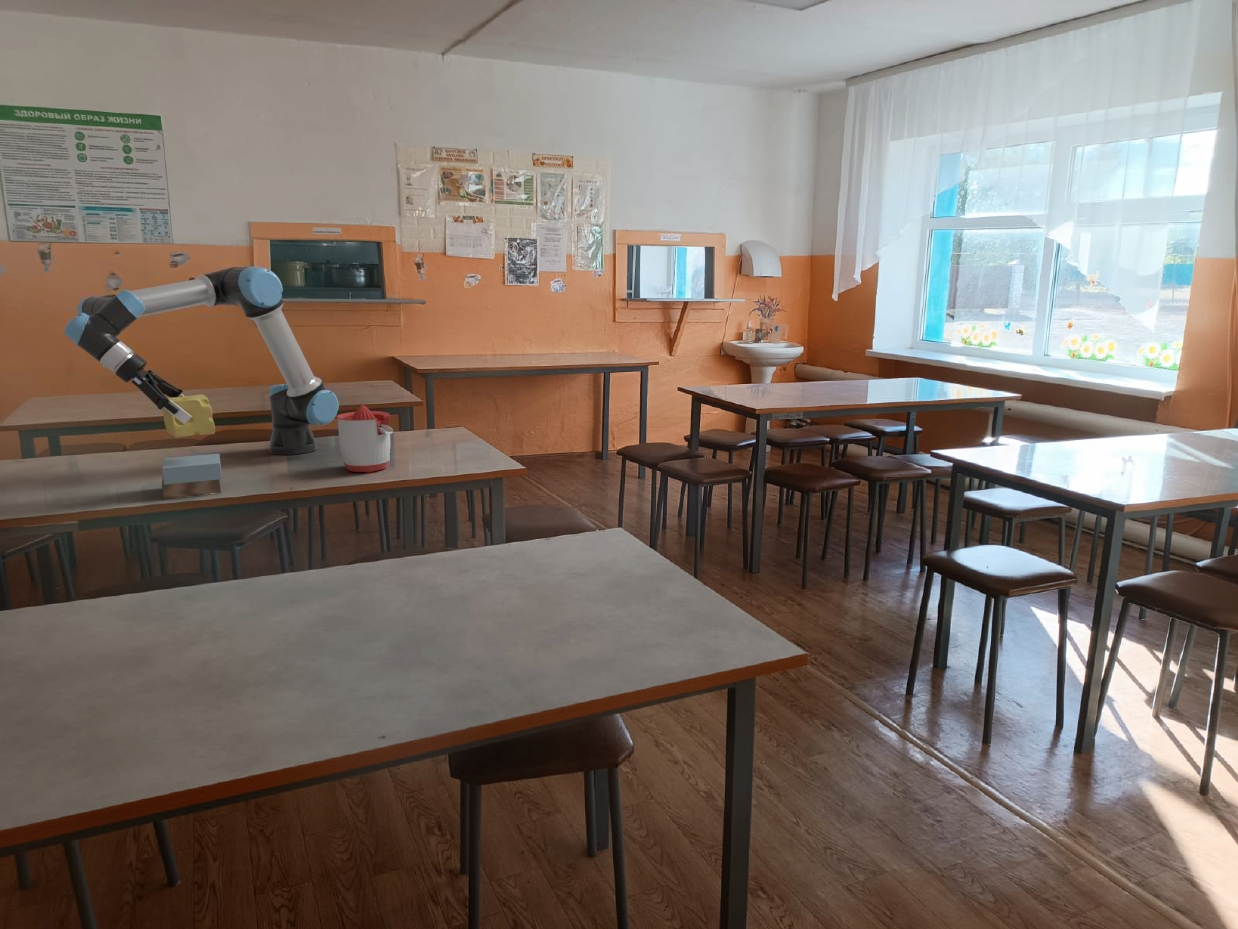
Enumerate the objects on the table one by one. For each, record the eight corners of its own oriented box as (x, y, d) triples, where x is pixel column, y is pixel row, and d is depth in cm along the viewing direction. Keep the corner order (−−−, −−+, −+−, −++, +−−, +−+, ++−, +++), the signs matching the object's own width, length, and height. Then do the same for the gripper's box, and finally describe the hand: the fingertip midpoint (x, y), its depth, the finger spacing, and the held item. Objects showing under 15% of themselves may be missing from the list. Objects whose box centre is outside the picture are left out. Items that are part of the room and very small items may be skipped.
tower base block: (219, 484, 246) (217, 468, 245) (221, 495, 233) (219, 479, 232) (164, 489, 239) (162, 474, 238) (163, 501, 227) (161, 485, 226)
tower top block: (221, 468, 245) (219, 453, 244) (221, 479, 232) (219, 463, 231) (166, 473, 239) (164, 458, 238) (164, 484, 227) (162, 468, 226)
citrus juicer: (377, 477, 252) (373, 410, 248) (329, 472, 258) (324, 407, 253) (407, 466, 266) (404, 403, 262) (361, 461, 272) (357, 400, 268)
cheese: (216, 434, 232) (212, 397, 230) (172, 438, 226) (168, 401, 224) (206, 428, 240) (203, 393, 238) (164, 433, 234) (160, 397, 232)
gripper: (126, 368, 236) (191, 419, 244) (100, 378, 213) (173, 434, 221) (145, 348, 237) (210, 400, 244) (121, 356, 213) (194, 413, 221)
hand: (193, 416), depth 232 cm, fingers closed on cheese, 13 cm apart
